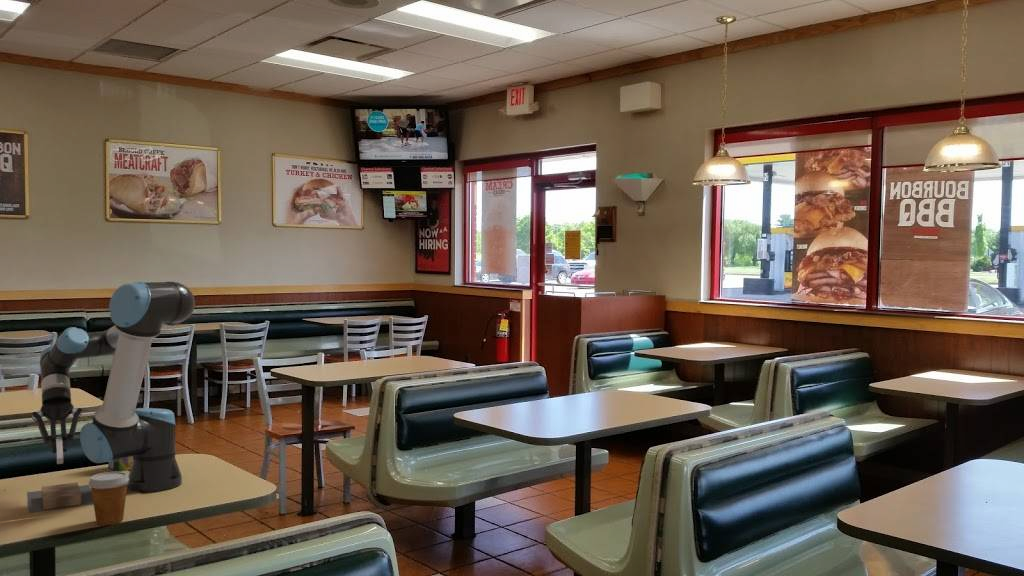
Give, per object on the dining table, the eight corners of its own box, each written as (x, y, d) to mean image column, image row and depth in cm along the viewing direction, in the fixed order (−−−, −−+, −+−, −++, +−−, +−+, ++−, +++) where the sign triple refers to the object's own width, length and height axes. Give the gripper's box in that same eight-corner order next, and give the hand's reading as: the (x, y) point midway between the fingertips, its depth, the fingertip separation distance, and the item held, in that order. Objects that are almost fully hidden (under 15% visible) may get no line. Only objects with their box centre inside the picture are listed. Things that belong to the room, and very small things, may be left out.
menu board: (77, 482, 241) (80, 494, 229) (77, 492, 241) (81, 505, 229) (41, 486, 236) (43, 499, 224) (41, 497, 237) (43, 510, 225)
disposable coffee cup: (133, 523, 216) (132, 477, 215) (92, 529, 210) (91, 482, 210) (126, 513, 224) (125, 469, 223) (86, 519, 218) (86, 474, 218)
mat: (89, 486, 249) (89, 484, 249) (95, 505, 231) (95, 503, 230) (27, 493, 241) (27, 492, 241) (28, 514, 222) (28, 513, 222)
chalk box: (147, 467, 271) (146, 422, 270) (118, 473, 264) (117, 426, 263) (135, 462, 277) (135, 418, 276) (107, 468, 270) (106, 422, 270)
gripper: (80, 398, 252) (85, 465, 239) (30, 402, 246) (33, 471, 232) (81, 383, 247) (86, 450, 234) (30, 387, 241) (33, 456, 227)
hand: (60, 461), depth 233 cm, fingers closed
